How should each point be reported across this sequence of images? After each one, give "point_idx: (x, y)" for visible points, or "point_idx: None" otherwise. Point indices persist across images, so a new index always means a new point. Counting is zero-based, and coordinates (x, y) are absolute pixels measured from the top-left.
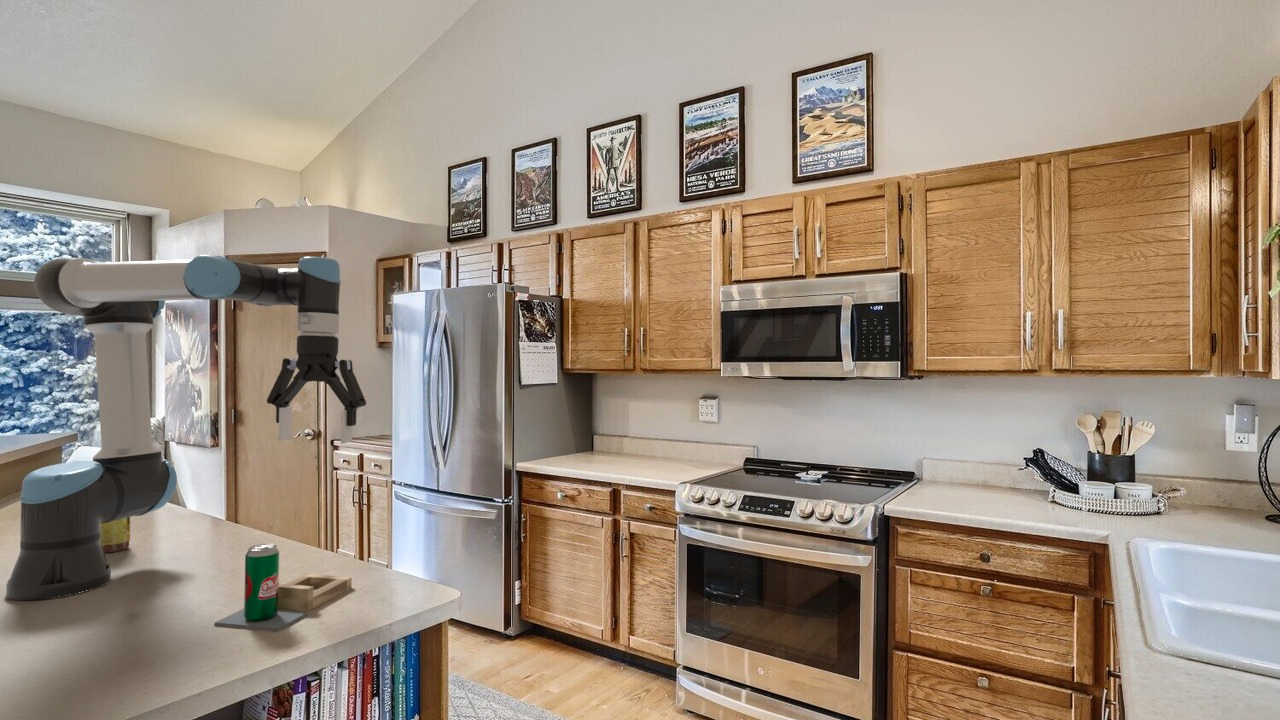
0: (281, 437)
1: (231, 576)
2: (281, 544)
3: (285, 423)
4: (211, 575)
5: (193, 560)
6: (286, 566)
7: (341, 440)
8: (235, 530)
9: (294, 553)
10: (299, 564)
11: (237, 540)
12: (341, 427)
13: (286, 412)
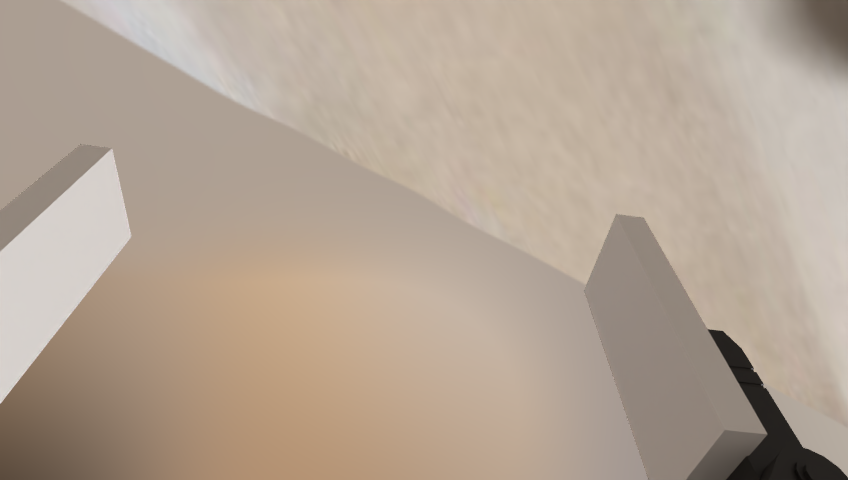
0: (625, 226)
1: (658, 39)
2: None
3: (641, 328)
4: (717, 44)
5: (807, 162)
6: (544, 131)
7: (92, 156)
8: (775, 369)
9: (569, 228)
10: (518, 148)
11: (746, 307)
12: (29, 214)
13: (674, 421)
